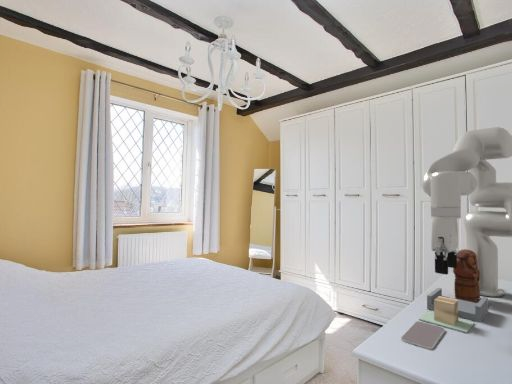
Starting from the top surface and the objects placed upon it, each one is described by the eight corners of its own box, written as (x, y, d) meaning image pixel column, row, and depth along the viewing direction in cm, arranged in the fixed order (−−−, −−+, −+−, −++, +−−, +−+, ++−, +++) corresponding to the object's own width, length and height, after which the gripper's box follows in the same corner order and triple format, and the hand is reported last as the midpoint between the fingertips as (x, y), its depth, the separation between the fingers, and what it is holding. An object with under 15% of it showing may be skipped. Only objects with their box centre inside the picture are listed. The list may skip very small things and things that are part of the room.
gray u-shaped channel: (437, 300, 106) (437, 287, 106) (487, 311, 96) (487, 297, 96) (427, 309, 97) (427, 295, 98) (480, 322, 87) (480, 307, 87)
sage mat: (428, 312, 95) (428, 310, 95) (474, 323, 86) (474, 322, 86) (418, 319, 89) (418, 318, 89) (467, 333, 80) (467, 331, 80)
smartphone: (399, 338, 76) (416, 320, 87) (399, 342, 76) (416, 323, 87) (431, 348, 71) (445, 328, 82) (432, 352, 71) (445, 331, 82)
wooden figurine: (473, 305, 101) (472, 252, 101) (451, 300, 106) (451, 250, 106) (483, 298, 108) (482, 249, 108) (462, 294, 113) (462, 246, 113)
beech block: (439, 315, 91) (439, 295, 91) (458, 320, 88) (458, 300, 88) (434, 320, 88) (434, 299, 88) (453, 325, 84) (453, 304, 84)
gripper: (439, 211, 97) (440, 263, 97) (422, 214, 85) (422, 273, 85) (467, 211, 91) (468, 267, 91) (452, 215, 79) (453, 279, 79)
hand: (446, 270), depth 88 cm, fingers open, 9 cm apart
